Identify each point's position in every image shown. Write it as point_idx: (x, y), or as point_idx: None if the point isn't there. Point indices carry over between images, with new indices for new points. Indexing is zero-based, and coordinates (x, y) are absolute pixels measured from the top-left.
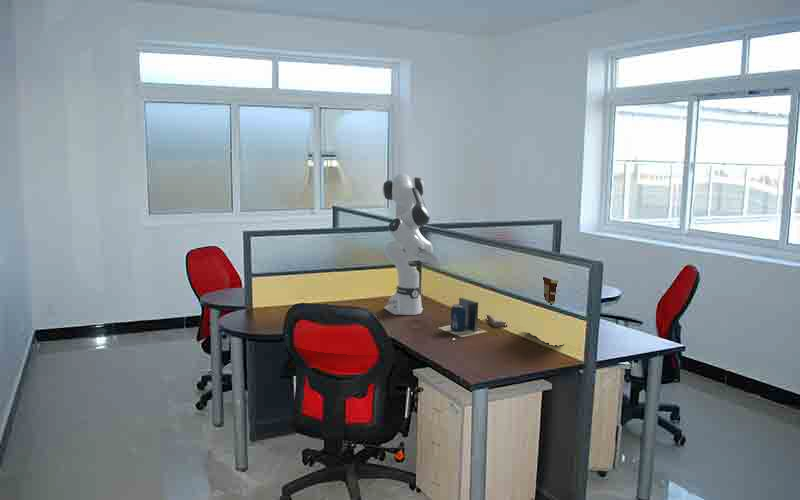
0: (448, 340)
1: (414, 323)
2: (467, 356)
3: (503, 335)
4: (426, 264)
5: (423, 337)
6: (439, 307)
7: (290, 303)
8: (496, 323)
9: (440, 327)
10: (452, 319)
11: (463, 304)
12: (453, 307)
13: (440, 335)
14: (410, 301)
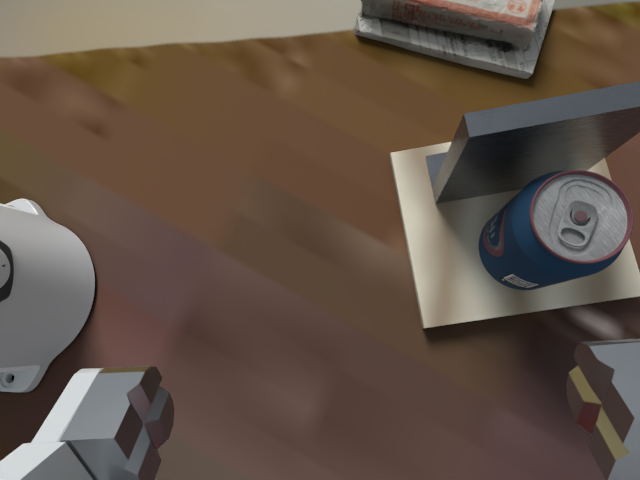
0: None
1: (237, 372)
2: None
3: (621, 62)
4: (170, 410)
5: (513, 470)
6: (33, 102)
7: None
8: (535, 26)
9: (423, 309)
10: (556, 283)
11: (513, 144)
12: (588, 263)
13: (510, 358)
14: (21, 305)
